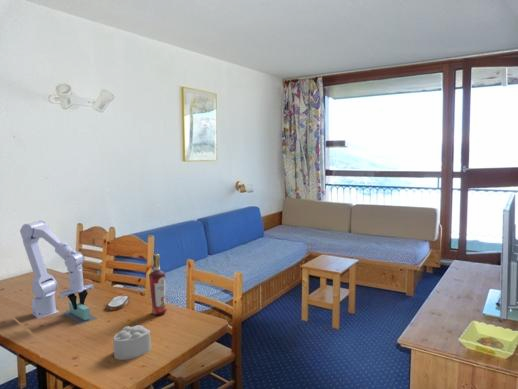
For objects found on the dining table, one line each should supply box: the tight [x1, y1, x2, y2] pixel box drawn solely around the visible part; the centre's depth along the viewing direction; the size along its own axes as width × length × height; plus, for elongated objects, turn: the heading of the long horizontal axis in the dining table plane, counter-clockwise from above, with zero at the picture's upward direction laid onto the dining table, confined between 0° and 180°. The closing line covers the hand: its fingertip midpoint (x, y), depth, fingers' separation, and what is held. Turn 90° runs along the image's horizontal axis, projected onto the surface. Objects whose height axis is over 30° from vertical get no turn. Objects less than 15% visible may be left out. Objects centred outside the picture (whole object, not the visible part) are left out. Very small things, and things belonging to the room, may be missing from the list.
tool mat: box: [61, 309, 98, 325], centre depth 179 cm, size 8×20×1 cm, turn 48°
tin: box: [106, 295, 131, 312], centre depth 191 cm, size 15×3×8 cm
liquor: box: [148, 253, 167, 316], centre depth 179 cm, size 7×7×28 cm
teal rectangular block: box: [68, 300, 91, 320], centre depth 178 cm, size 16×2×5 cm, turn 48°
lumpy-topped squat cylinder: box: [112, 324, 152, 361], centre depth 146 cm, size 10×13×9 cm
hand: (78, 308), depth 179 cm, fingers closed on teal rectangular block, 2 cm apart
